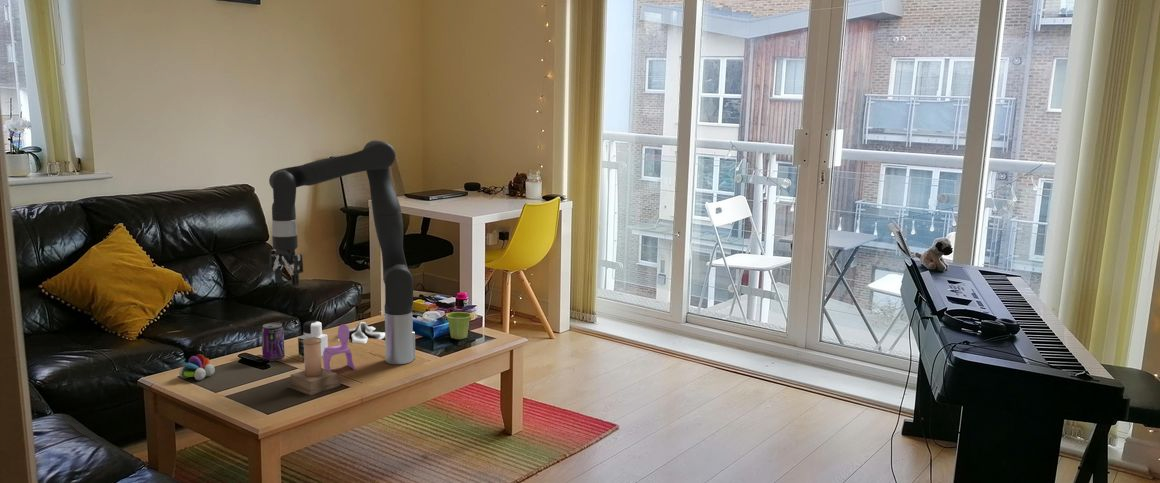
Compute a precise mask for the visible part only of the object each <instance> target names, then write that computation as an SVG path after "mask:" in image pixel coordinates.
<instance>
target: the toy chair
mask: <svg viewBox="0 0 1160 483" xmlns="http://www.w3.org/2000/svg"><path fill="white" fill-rule="evenodd" d="M337 329H338V330H337V338H338V339H339V340H340V341H339V342H340V343H341V344H339V345H333V346H328V347H326V348H324V352H323V356H322V358H323V359H322V360H323V361H322V362H323V369H326V370H329V371H332V369H331V366H330V364H331V363H330V362H331V359H332V357H333V356H336V355H339V354H340V355H341V354H344V355H345V358H346V365H347V366H348V367H350V368H351V369H353V370H354V371H356V367H355V364H354V362H353V353H352V352H351V348H348V344H349V339H350V337H349V329H350V327H349V325H348V324H347V323H346V324H345V323H343V324H340V325H339V326H338V328H337Z"/></svg>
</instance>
